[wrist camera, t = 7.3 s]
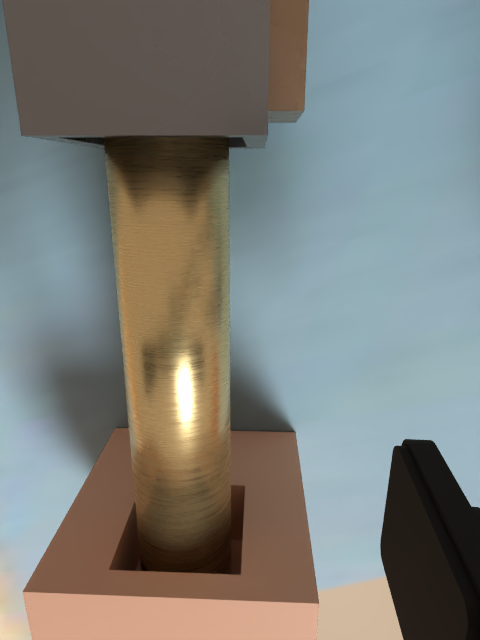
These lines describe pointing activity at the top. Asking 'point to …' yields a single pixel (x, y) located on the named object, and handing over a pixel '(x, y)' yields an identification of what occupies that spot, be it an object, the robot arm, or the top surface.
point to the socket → (172, 587)
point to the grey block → (157, 68)
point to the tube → (175, 342)
